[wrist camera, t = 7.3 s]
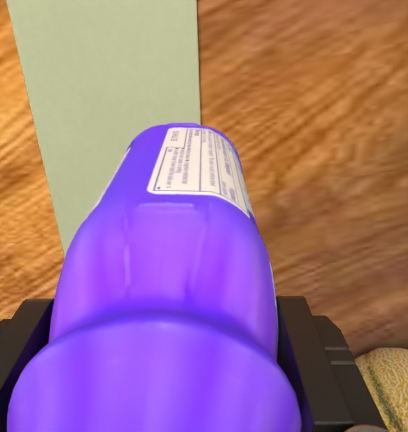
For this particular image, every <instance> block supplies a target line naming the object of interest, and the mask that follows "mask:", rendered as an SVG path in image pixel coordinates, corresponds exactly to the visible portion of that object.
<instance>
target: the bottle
mask: <svg viewBox="0 0 408 432" xmlns="http://www.w3.org/2000/svg"><path fill="white" fill-rule="evenodd" d="M277 354H278V317H277V304H276V295H275V287H274V280H273V273H272V268H271V264H270V260H269V257H268V253H267V250H266V246H265V244H264V243H263V241H262V239H261V237H260V234H259V231H258V227H257V224H256V220H255V217H254V213H253V210H252V206H251V202H250V200H249V196H248V193H247V189H246V186H245V182H244V179H243V173H242V166H241V163H240V159H239V156H238V153H237V151H236V149H235V147H234V145H233V144H232V143H231V141H230V140H229V139H228V138H227V137H226V136H225V135H224V134H223V133H221V132H219V131H217V130H216V129H213V128H210V127H207V126H201V125H198V124H196V123H169V124H166V125H157V126H153V127H150V128H148V129H146V130H144V131H143V132H141V133H140V134H139V135H137V136H136V137H135V138H134V139H133V140H132V142H131V143H130V145H129V146H128V148H127V150H126V152H125V154H124V156H123V158H122V159H121V161H120V163H119V165H118V166H117V168H116V170H115V172H114V173H113V175H112V176H111V178H110V180H109V181H108V183H107V185H106V186H105V188H104V190H103V191H102V193H101V195H100V196H99V198H98V200H97V201H96V203H95V204H94V206H93V208H92V209H91V211H90V213H89V214H88V216H87V217H86V219H85V220H84V222H83V223H82V224H81V226H80V227H79V228H78V230H77V232H76V234H75V236H74V238H73V240H72V242H71V243H70V246H69V248H68V251H67V253H66V256H65V260H64V264H63V267H62V271H61V274H60V278H59V282H58V286H57V290H56V294H55V299H54V305H53V311H52V317H51V325H50V334H49V343H48V344H47V345H45V346H44V347H43V348H42V349H41V350H40V351H39V352H38V353H37V354H36V355H35V356H34V357H33V358H32V359H31V360H30V361H29V363H28V364H27V365H26V366H25V368H24V370H23V371H22V373H21V375H20V377H19V379H18V381H17V383H16V385H15V387H14V389H13V392H12V396H11V399H10V402H9V406H8V413H7V432H301V427H302V424H301V422H302V420H301V414H300V409H299V405H298V401H297V397H296V393H295V391H294V390H293V388H292V386H291V384H290V382H289V380H288V378H287V376H286V375H285V373H284V372H283V370H282V369H281V368H280V366H279V365H278V364H277Z"/></svg>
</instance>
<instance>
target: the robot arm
mask: <svg viewBox="0 0 408 432" xmlns="http://www.w3.org/2000/svg"><path fill="white" fill-rule="evenodd" d="M276 304H277V317H278V354H277V364H278V365H279V366H280V368H281V369H282V370H283V372H284V373H285V375H286V376H287V378H288V380H289V382H290V384H291V386H292V388H293V390H294V391H295V393H296V397H297V401H298V405H299V409H300V414H301V420H302V422H301V424H302V427H301V432H390V431H389V430H388V428H387V426H386V425H385V423H384V421H383V419H382V417H381V414H380V412H379V410H378V408H377V406H376V404H375V402H374V400H373V398H372V396H371V393H370V391H369V389H368V387H367V385H366V383H365V381H364V379H363V377H362V374H361V372H360V370H359V368H358V366H357V365H356V364H355V360H354V358H353V356H352V353H351V351H349V349H348V345H347V343H346V341H345V339H344V337H343V334H342V332H341V330H340V329H339V328H338V327H337V326H336V325H335V324H334V323H332V322H331V321H330V320H329V319H328V318H327V317H326V316H312V314H311V312H310V309H309V307H308V304H307V302H306V299H305V298H304V297H303V296H276ZM53 305H54V299H26V300H24V301H23V302H22V304H21V305H20V307H19V308H18V310H17V311H16V313H15V314H14V316H13V317H12V319H3V320H2V321H0V432H7V413H8V406H9V402H10V399H11V396H12V392H13V389H14V387H15V385H16V383H17V381H18V379H19V377H20V375H21V373H22V371H23V370H24V368H25V366H26V365H27V364H28V363H29V361H30V360H31V359H32V358H33V357H34V356H35V355H36V354H37V353H38V352H39V351H40V350H41V349H42V348H43V347H44V346H45V345H47V344H48V343H49V334H50V325H51V317H52V311H53Z"/></svg>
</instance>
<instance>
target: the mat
mask: <svg viewBox="0 0 408 432" xmlns="http://www.w3.org/2000/svg"><path fill="white" fill-rule="evenodd" d="M6 1H7V5H8V10H9V14H10V19H11V23H12V27H13V32H14V36H15V41H16V45H17V50H18V54H19V58H20V63H21V67H22V72H23V76H24V80H25V85H26V89H27V94H28V98H29V102H30V107H31V111H32V116H33V120H34V124H35V129H36V133H37V138H38V142H39V146H40V151H41V155H42V160H43V164H44V169H45V173H46V177H47V182H48V186H49V191H50V195H51V199H52V204H53V208H54V213H55V217H56V221H57V226H58V230H59V235H60V239H61V243H62V248H63V252H64V257H65V256H66V253H67V251H68V248H69V246H70V243H71V242H72V240H73V238H74V236H75V234H76V232H77V230H78V228H79V227H80V226H81V224H82V223H83V222H84V220H85V219H86V217H87V216H88V214H89V213H90V211H91V209H92V208H93V206H94V204H95V203H96V201H97V200H98V198H99V196H100V195H101V193H102V191H103V190H104V188H105V186H106V185H107V183H108V181H109V180H110V178H111V176H112V175H113V173H114V172H115V170H116V168H117V166H118V165H119V163H120V161H121V159H122V158H123V156H124V154H125V152H126V150H127V148H128V146H129V145H130V143H131V142H132V140H133V139H134V138H135V137H136V136H137V135H139V134H140V133H141V132H143V131H144V130H146V129H148V128H150V127H153V126H157V125H166V124H169V123H196V124H198V125H201V119H200V89H199V59H198V29H197V0H6Z"/></svg>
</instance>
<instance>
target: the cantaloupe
mask: <svg viewBox="0 0 408 432" xmlns="http://www.w3.org/2000/svg"><path fill="white" fill-rule="evenodd" d="M354 360H355V364H356V365H357V366H358V368H359V370H360V372H361V374H362V377H363V379H364V381H365V383H366V385H367V387H368V389H369V391H370V393H371V396H372V398H373V400H374V402H375V404H376V406H377V408H378V410H379V412H380V414H381V417H382V419H383V421H384V423H385V425H386V426H387V428H388V430H389V431H390V432H408V349H403V348H400V347H399V348H386V347H382V348H377V349H375V350H372V351H370V352H369V353H367V354H363V355H361V356H359V357H357V358H355V359H354Z"/></svg>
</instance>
